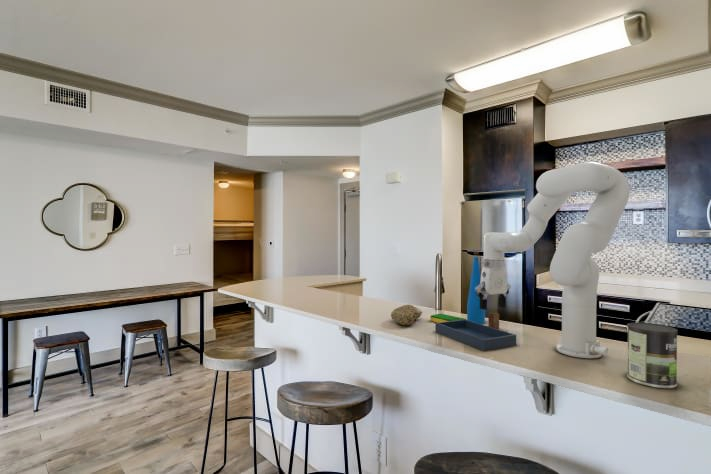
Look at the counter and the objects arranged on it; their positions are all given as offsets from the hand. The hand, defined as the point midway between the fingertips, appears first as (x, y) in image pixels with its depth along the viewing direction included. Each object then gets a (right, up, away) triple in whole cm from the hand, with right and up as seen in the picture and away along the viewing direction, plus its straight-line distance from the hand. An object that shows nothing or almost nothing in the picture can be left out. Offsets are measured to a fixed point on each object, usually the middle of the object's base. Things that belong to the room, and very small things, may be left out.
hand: (492, 308), depth 146 cm
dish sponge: (-14, -9, +15) cm, 22 cm away
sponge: (-32, -9, +16) cm, 36 cm away
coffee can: (+24, -10, -48) cm, 54 cm away
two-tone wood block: (0, -9, 0) cm, 9 cm away
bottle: (-1, -9, +17) cm, 19 cm away
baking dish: (-10, -9, -9) cm, 16 cm away
